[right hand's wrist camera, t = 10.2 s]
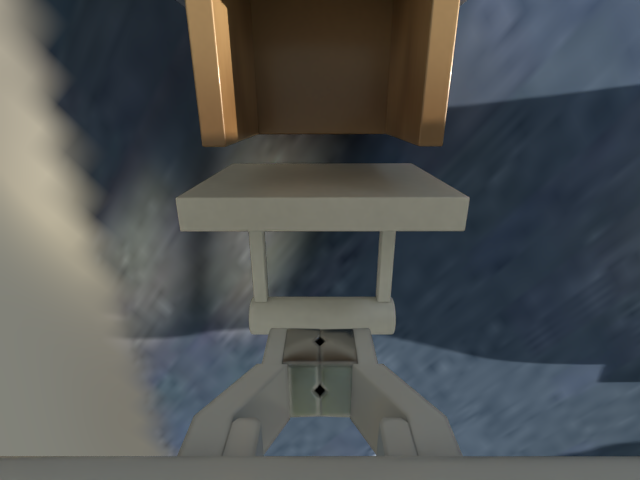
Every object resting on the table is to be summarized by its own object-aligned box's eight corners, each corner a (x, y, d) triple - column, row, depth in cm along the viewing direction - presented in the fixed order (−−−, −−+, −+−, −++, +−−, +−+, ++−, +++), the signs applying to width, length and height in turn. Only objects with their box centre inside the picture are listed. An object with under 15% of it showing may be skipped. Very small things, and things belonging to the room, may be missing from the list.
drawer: (401, 284, 21) (442, 375, 14) (243, 284, 21) (202, 375, 14) (462, -394, 12) (689, -1198, 5) (180, -392, 12) (-42, -1182, 5)
